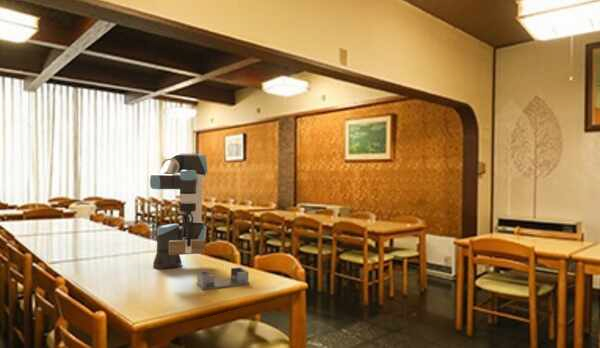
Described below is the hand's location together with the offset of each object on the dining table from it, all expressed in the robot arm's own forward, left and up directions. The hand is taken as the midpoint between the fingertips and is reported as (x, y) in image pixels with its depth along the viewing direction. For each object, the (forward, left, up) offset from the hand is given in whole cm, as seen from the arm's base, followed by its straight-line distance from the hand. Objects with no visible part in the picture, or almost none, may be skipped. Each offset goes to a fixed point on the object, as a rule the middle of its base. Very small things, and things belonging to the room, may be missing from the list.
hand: (187, 252), depth 187 cm
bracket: (+8, +15, -15) cm, 23 cm away
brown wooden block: (0, 0, -1) cm, 1 cm away
